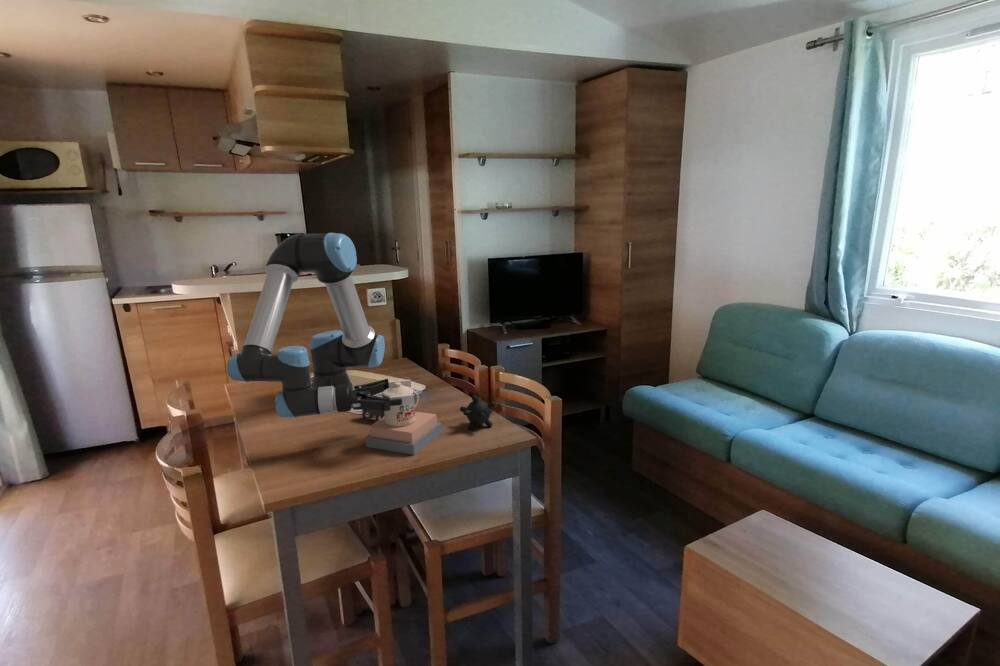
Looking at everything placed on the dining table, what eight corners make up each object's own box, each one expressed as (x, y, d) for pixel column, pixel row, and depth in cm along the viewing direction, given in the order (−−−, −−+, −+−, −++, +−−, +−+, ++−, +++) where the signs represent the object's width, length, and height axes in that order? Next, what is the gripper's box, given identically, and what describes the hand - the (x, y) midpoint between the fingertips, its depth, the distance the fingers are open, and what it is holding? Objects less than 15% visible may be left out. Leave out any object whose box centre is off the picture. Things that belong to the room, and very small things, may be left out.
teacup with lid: (399, 430, 146) (396, 390, 144) (377, 422, 152) (374, 384, 149) (429, 416, 156) (427, 378, 153) (408, 410, 161) (405, 373, 158)
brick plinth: (397, 425, 165) (395, 407, 163) (442, 432, 159) (441, 413, 157) (365, 446, 150) (364, 427, 149) (414, 455, 144) (412, 434, 143)
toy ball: (509, 417, 161) (481, 419, 152) (488, 434, 166) (460, 437, 158) (495, 388, 166) (467, 388, 157) (475, 406, 171) (447, 407, 162)
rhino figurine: (392, 427, 164) (390, 408, 163) (359, 419, 171) (357, 402, 169) (400, 422, 168) (399, 404, 166) (368, 415, 174) (366, 398, 173)
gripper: (340, 396, 160) (410, 389, 165) (333, 428, 137) (416, 419, 141) (337, 373, 159) (409, 366, 163) (330, 401, 135) (414, 393, 139)
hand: (412, 391), depth 152 cm, fingers open, 13 cm apart
